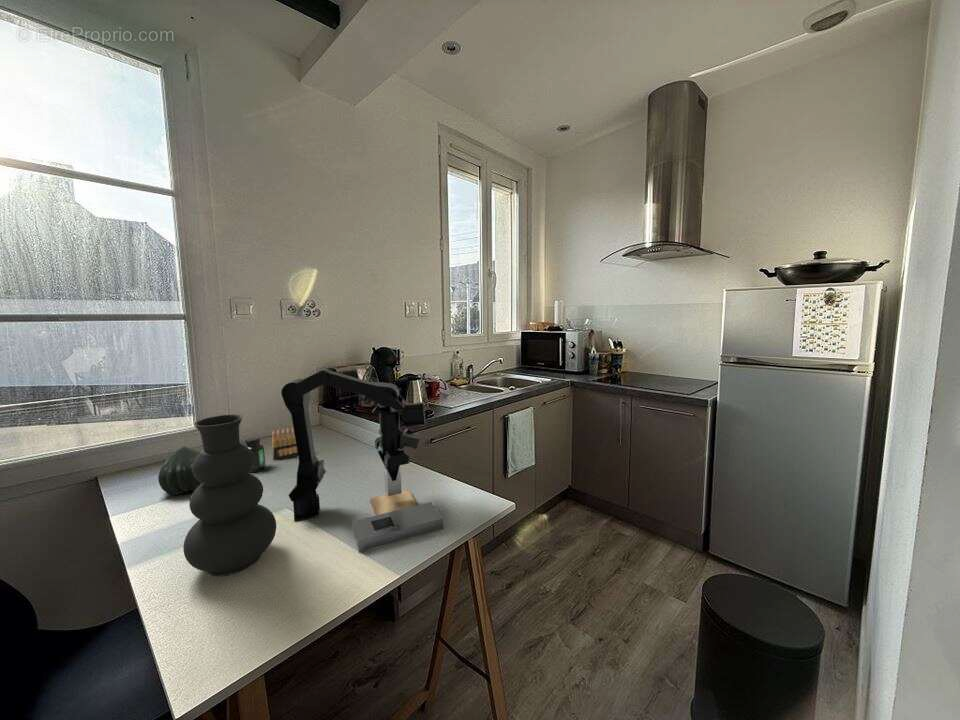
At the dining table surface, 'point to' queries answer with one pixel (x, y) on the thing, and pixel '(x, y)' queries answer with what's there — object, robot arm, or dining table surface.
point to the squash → (179, 472)
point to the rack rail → (396, 526)
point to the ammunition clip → (284, 445)
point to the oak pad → (392, 502)
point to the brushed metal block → (392, 483)
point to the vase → (226, 502)
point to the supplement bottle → (256, 453)
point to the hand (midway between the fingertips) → (392, 477)
